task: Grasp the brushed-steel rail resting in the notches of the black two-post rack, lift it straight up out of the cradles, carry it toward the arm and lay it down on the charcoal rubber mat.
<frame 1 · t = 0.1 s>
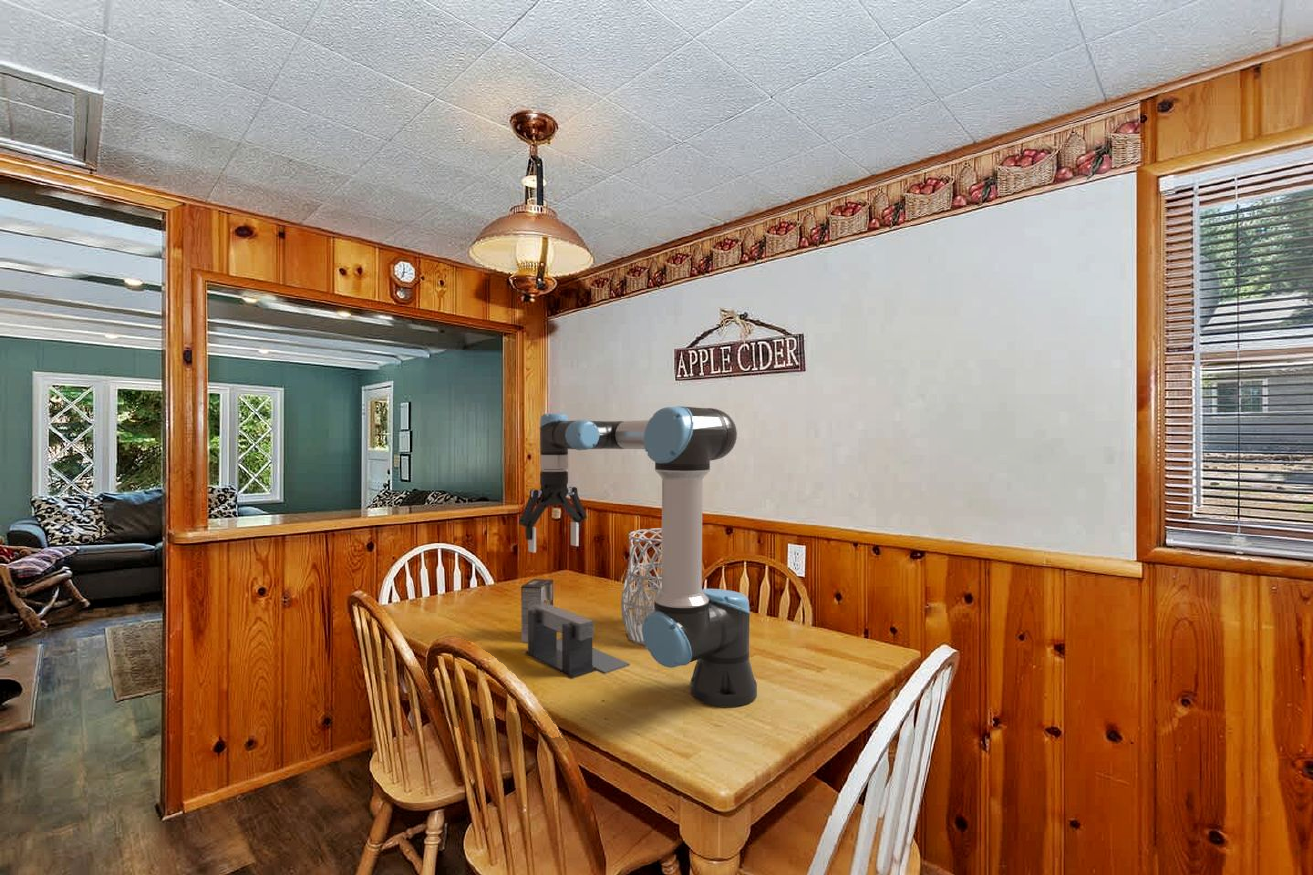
hand: (553, 548, 164), 28 cm above the table, fingers open, 13 cm apart
rack: (559, 662, 156), on the table
coffee box: (537, 638, 174), on the table
vase: (662, 636, 177), on the table
rail: (559, 627, 156), point 9 cm above the table, touching rack
mat: (584, 654, 161), on the table
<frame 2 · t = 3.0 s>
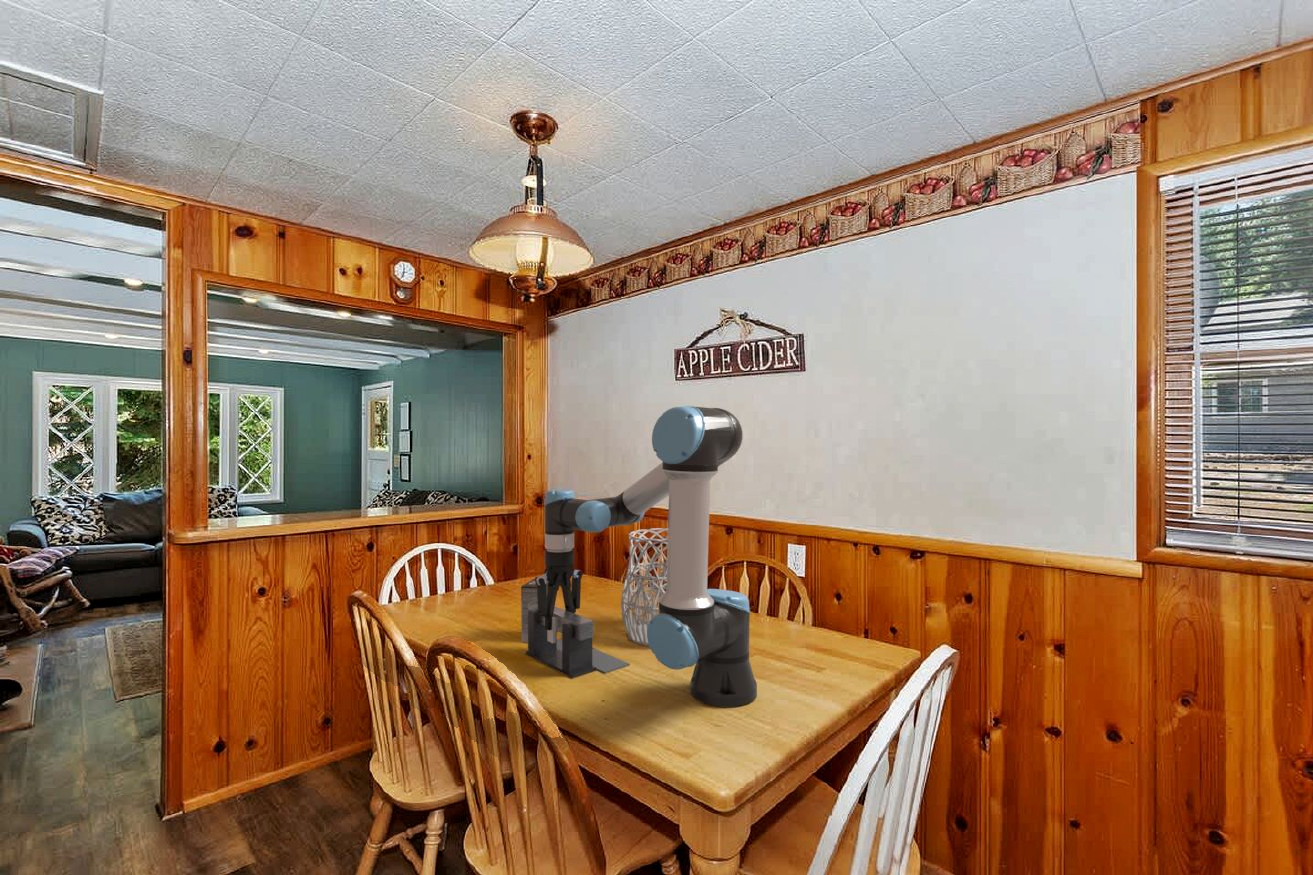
hand: (559, 639, 156), 6 cm above the table, fingers closed on rail, 4 cm apart
rail: (559, 627, 156), point 9 cm above the table, touching gripper, rack
everything else where it was.
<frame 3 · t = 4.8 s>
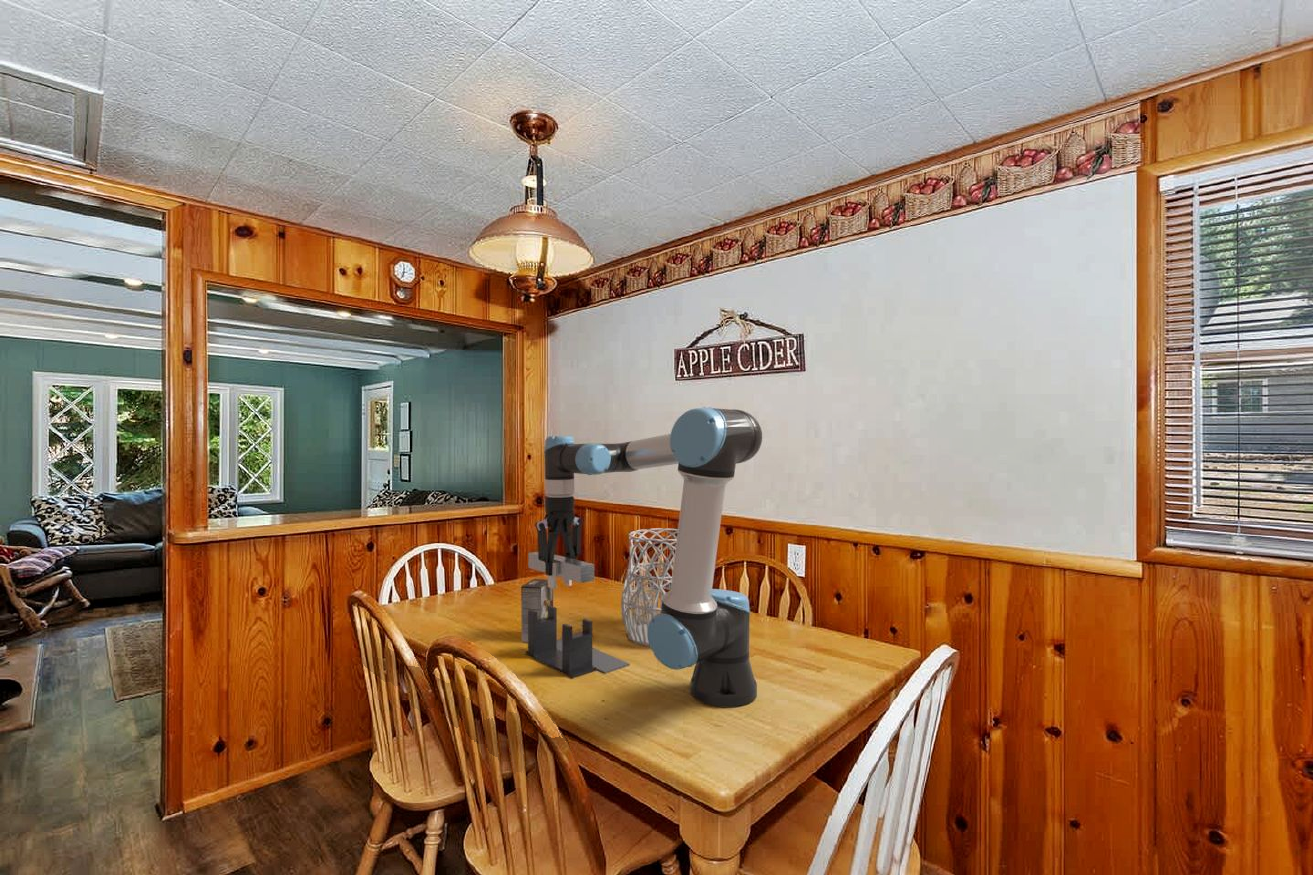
hand: (559, 585, 155), 20 cm above the table, fingers closed on rail, 4 cm apart
rail: (559, 573, 155), point 23 cm above the table, touching gripper
everything else where it was.
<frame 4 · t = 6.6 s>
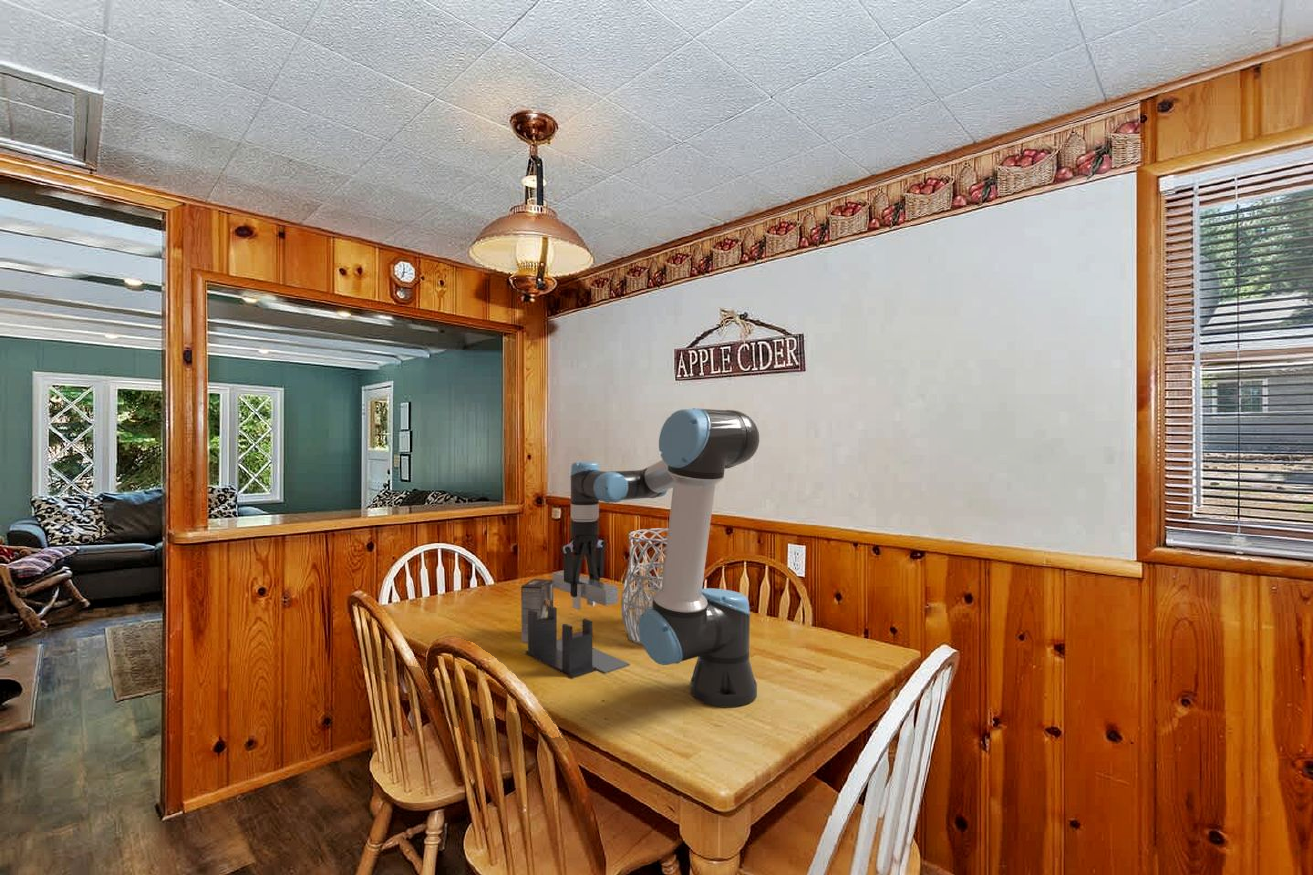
hand: (583, 606, 161), 13 cm above the table, fingers closed on rail, 4 cm apart
rail: (583, 594, 161), point 16 cm above the table, touching gripper
everything else where it was.
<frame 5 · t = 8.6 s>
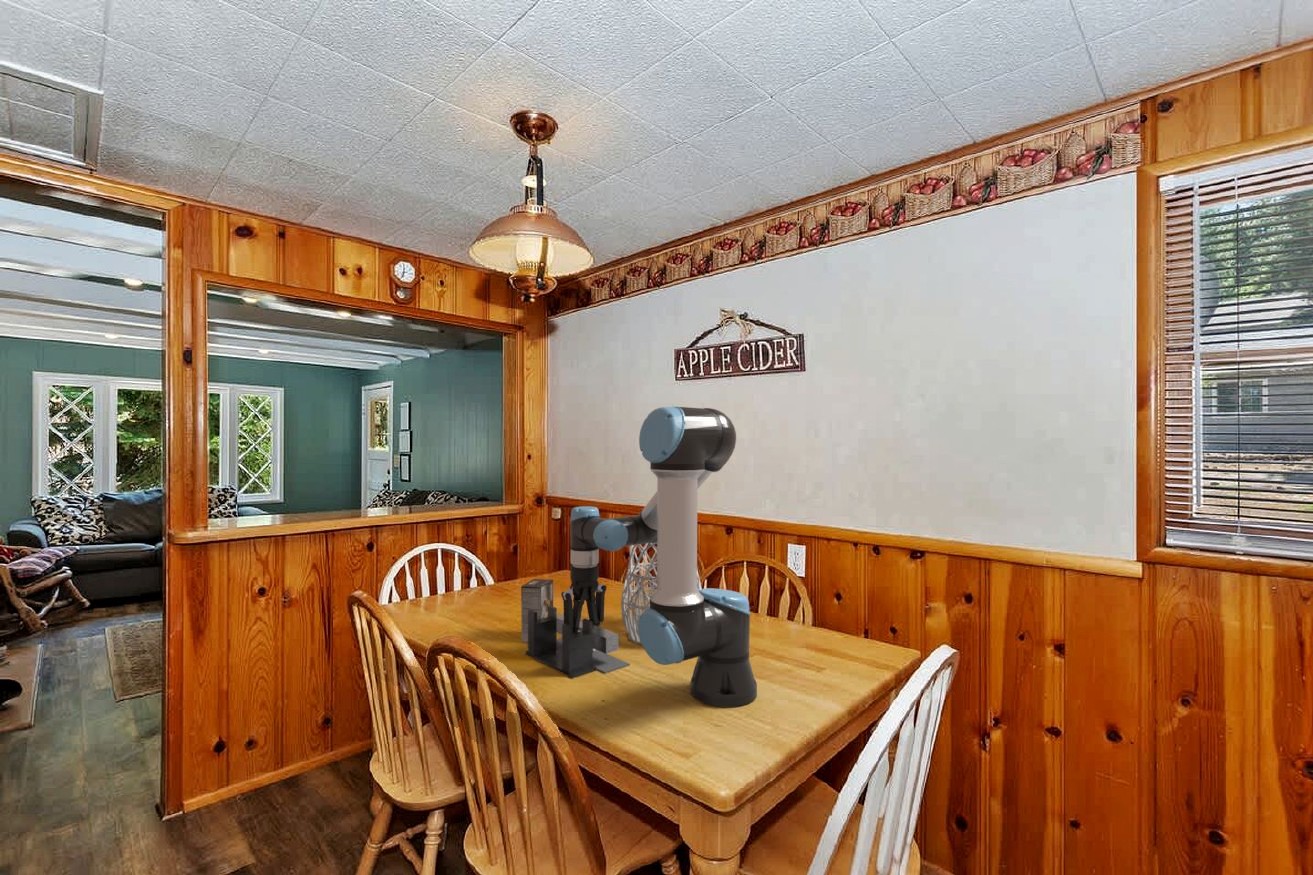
hand: (584, 651, 161), 1 cm above the table, fingers closed on mat, rail, 4 cm apart
rail: (584, 639, 161), point 4 cm above the table, touching gripper
everything else where it was.
when the fingers open (1 cm above the table, at t = 10.1 s): rail drops 3 cm, resting on mat.
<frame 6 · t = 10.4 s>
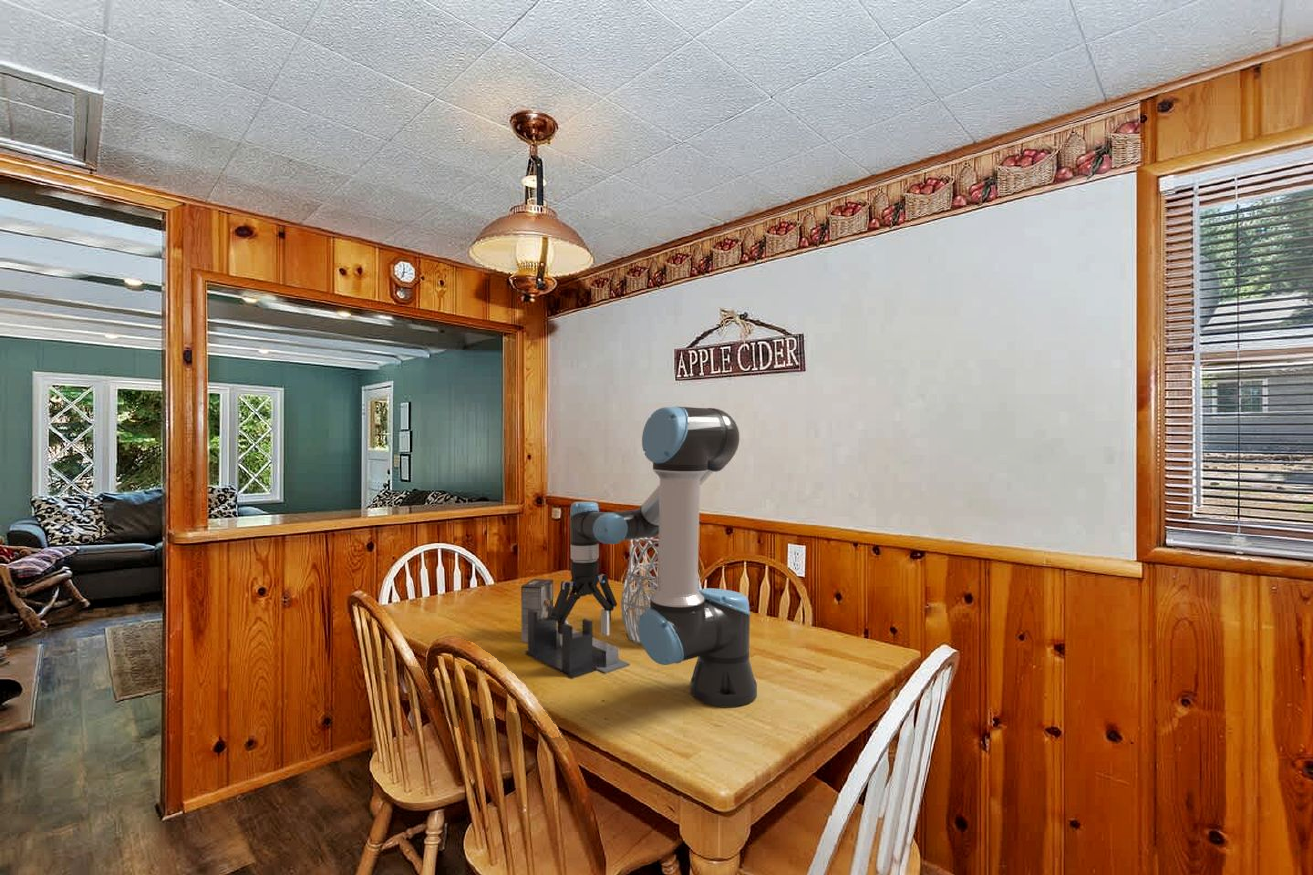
hand: (585, 639, 161), 4 cm above the table, fingers open, 13 cm apart
rail: (584, 652, 161), resting on mat
everything else where it was.
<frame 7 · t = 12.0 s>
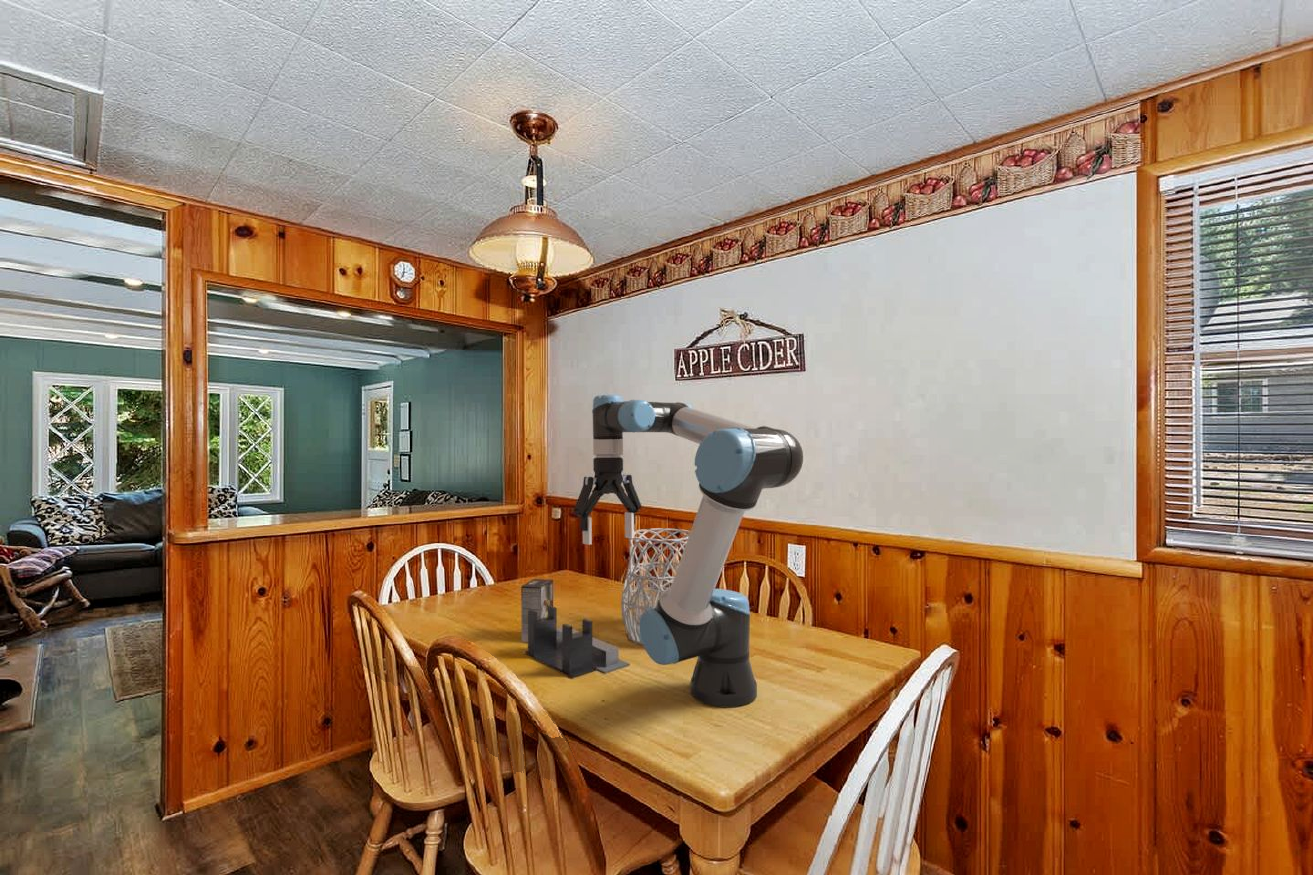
hand: (609, 540, 152), 32 cm above the table, fingers open, 13 cm apart
nothing on the table moved.
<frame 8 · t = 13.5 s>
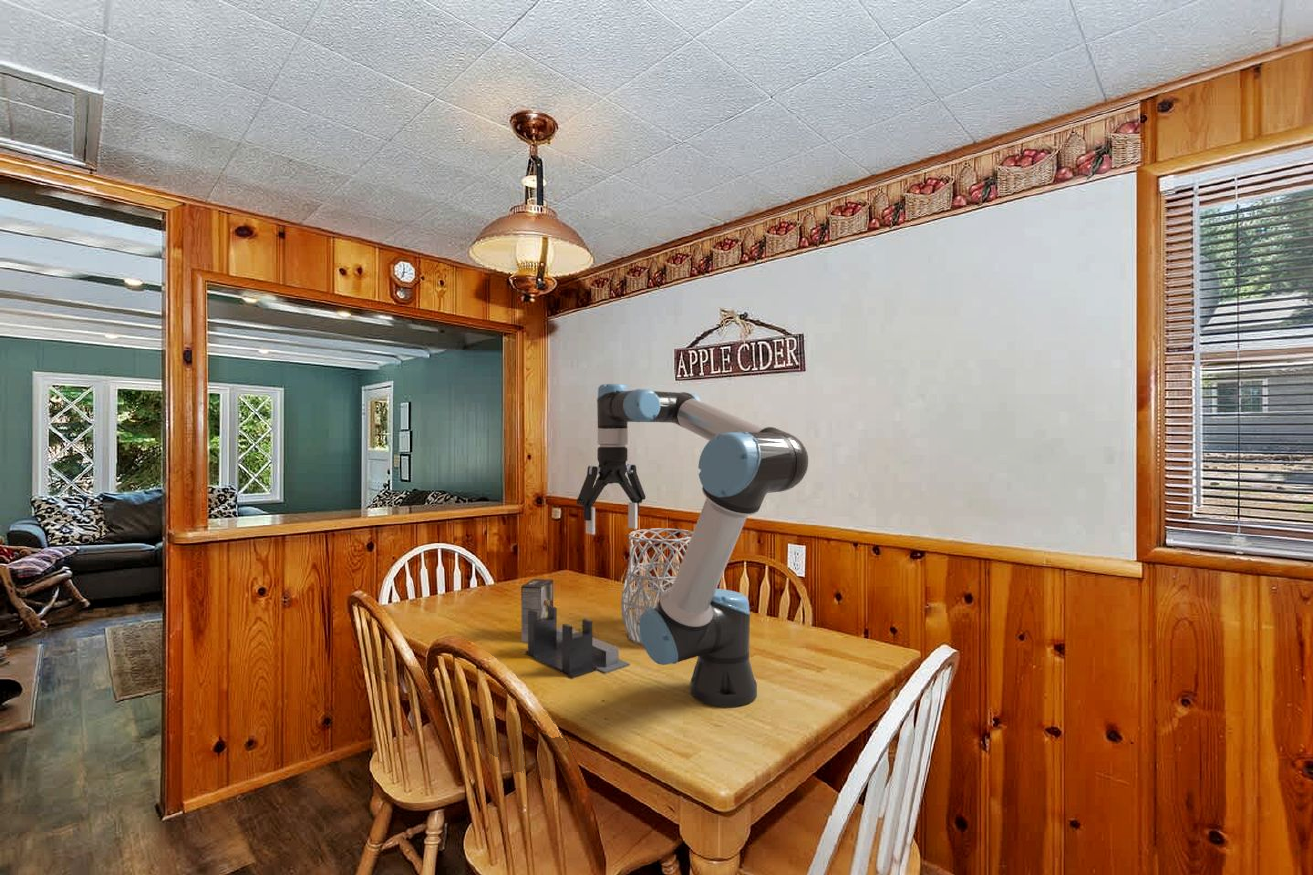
hand: (612, 531, 151), 35 cm above the table, fingers open, 13 cm apart
nothing on the table moved.
at the end: rail inside the target area (0.2 cm from its centre), resting on mat; rail touching mat; the gripper is holding nothing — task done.
